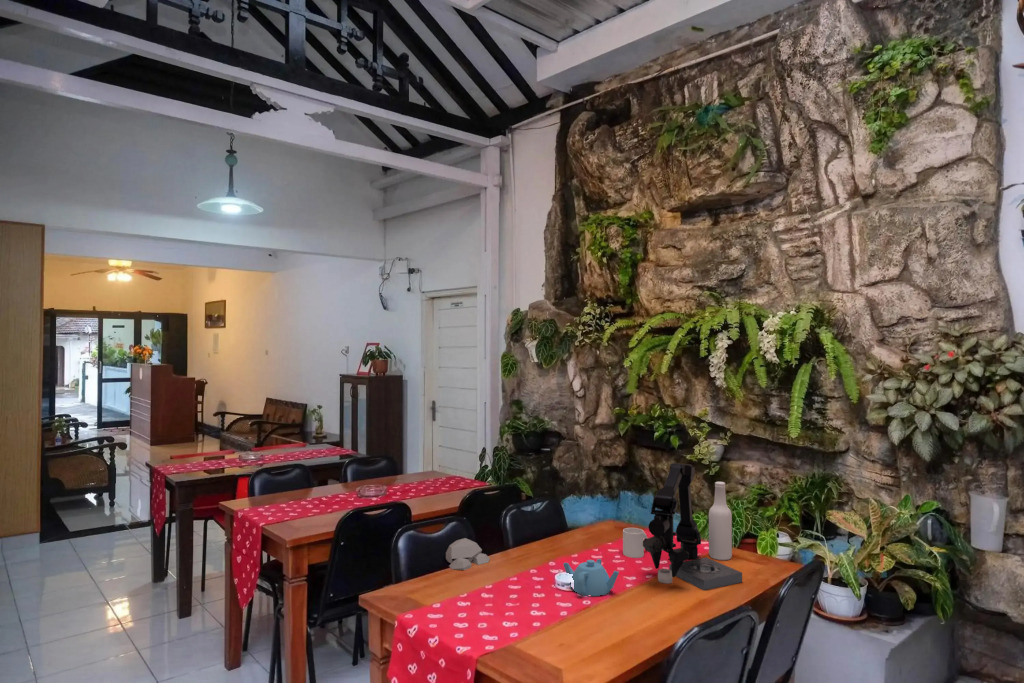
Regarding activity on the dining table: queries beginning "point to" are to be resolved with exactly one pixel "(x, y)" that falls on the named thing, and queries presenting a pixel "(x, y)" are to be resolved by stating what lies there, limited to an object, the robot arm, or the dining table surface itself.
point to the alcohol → (720, 526)
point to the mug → (633, 542)
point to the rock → (465, 554)
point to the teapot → (591, 578)
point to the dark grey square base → (708, 574)
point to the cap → (665, 576)
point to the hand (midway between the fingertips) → (665, 572)
